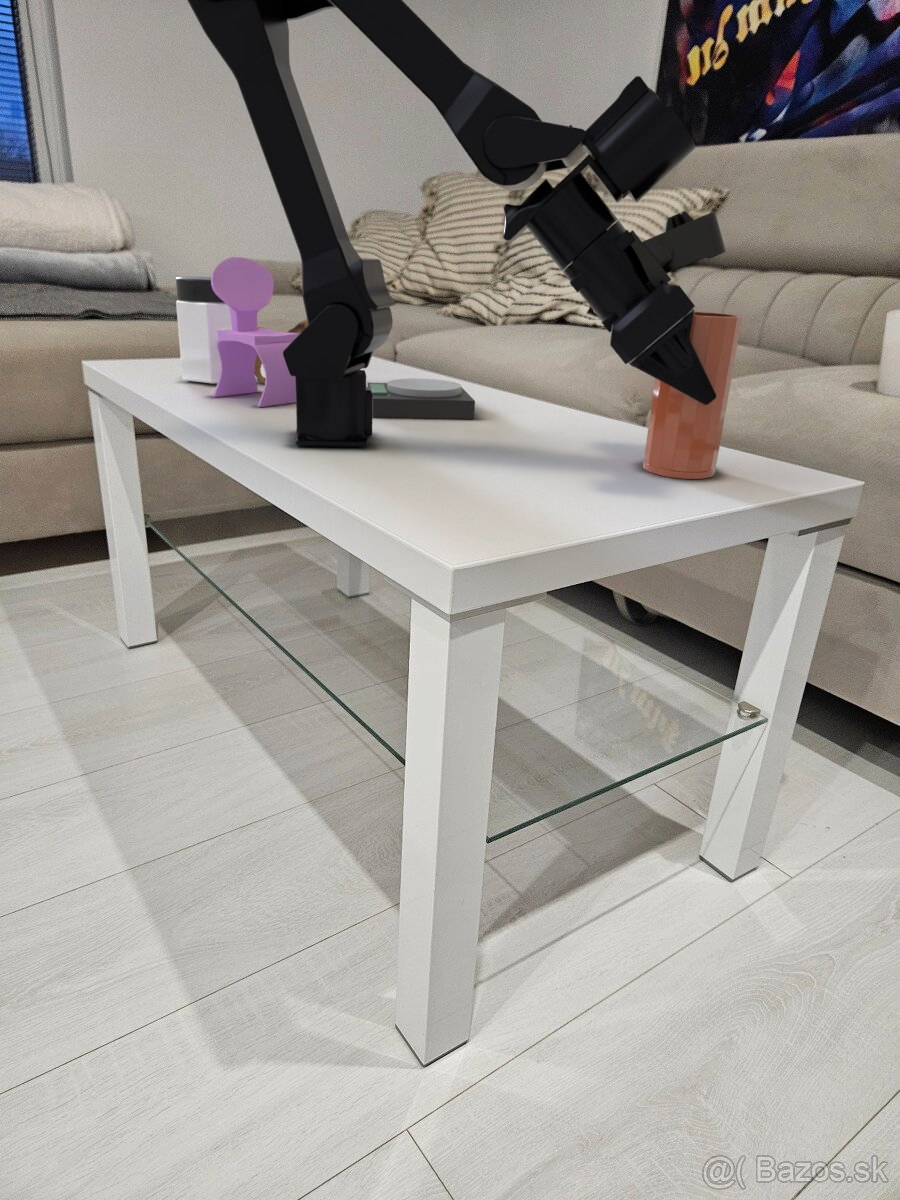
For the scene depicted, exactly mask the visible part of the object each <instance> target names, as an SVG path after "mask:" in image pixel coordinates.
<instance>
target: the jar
mask: <svg viewBox="0 0 900 1200" xmlns="http://www.w3.org/2000/svg"><path fill="white" fill-rule="evenodd" d="M211 277H212V276H177V277H176V278H175V285H176V287H175V288H176V298H177V300H176V302H175V306H176V307H175V308H176V318H177V319H176V320H177V331H178V343H179V344H178V345H179V357H180V369H181V378H182V380H183V381H189V382H196V383H205V384H218V381H219V377H220V372H221V362H220V357H219V353H218V350H217V345H216V342H217V340H218V333H217V331H222V330H231V331H232V323H231V316H230V308H229V306H228V305H227V304H226V303H225V302H224V301H222V300H221V299H220V298H219V297H218V296H217V295H216V294H215V292H214V291H213V289H212V285H211Z"/></svg>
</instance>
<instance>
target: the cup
mask: <svg viewBox="0 0 900 1200" xmlns="http://www.w3.org/2000/svg"><path fill="white" fill-rule="evenodd" d="M694 311H695V314H694V318H693V322H692V328H691V333H690V341H691V343H692V345H693V347H694V350H695V352H696V354H697V356H698V358H699V360H700V362H701V364H702V366H703V368H704V370H705V372H706V374H707V376H708V379H709V381H710V383H711V385H712V387H713V389H714V391H715V393H716V398H715V399H714V400H713V401H712V402H711V403H709V404H708V405H704V404H702V403H701V402H699V401H697V400H695V399H693V398H691V397H690V396H688V395H686V394H684V393H682V392H680V391H679V390H677V389H675V388H673V387H671V386H669V385H667V384H666V383H664V382H662V381H660V380H658V379H656V378H654V385H653V392H652V398H651V405H650V406H651V407H650V414H649V419H648V427H647V434H646V440H645V441H646V442H645V448H644V456H643V465H642V468H643V469H644V470H645V471H647V472H650V473H652V474H654V475H659V476H662V477H667V478H673V479H684V480H700V479H702V480H703V479H708V478H711V477H713V476H714V475H715V474H716V473H715V472H716V468H717V464H718V457H719V451H720V446H721V440H722V435H723V430H724V424H725V418H726V411H727V407H728V401H729V395H730V390H731V389H730V388H731V385H732V383H731V382H732V378H733V372H734V366H735V360H736V354H737V349H738V344H739V338H740V331H741V326H742V322H743V321H742V320H743V316H741V315H738V314H731V313H721V312H712V311H711V312H710V311H709V312H708V311H697V310H694Z"/></svg>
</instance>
